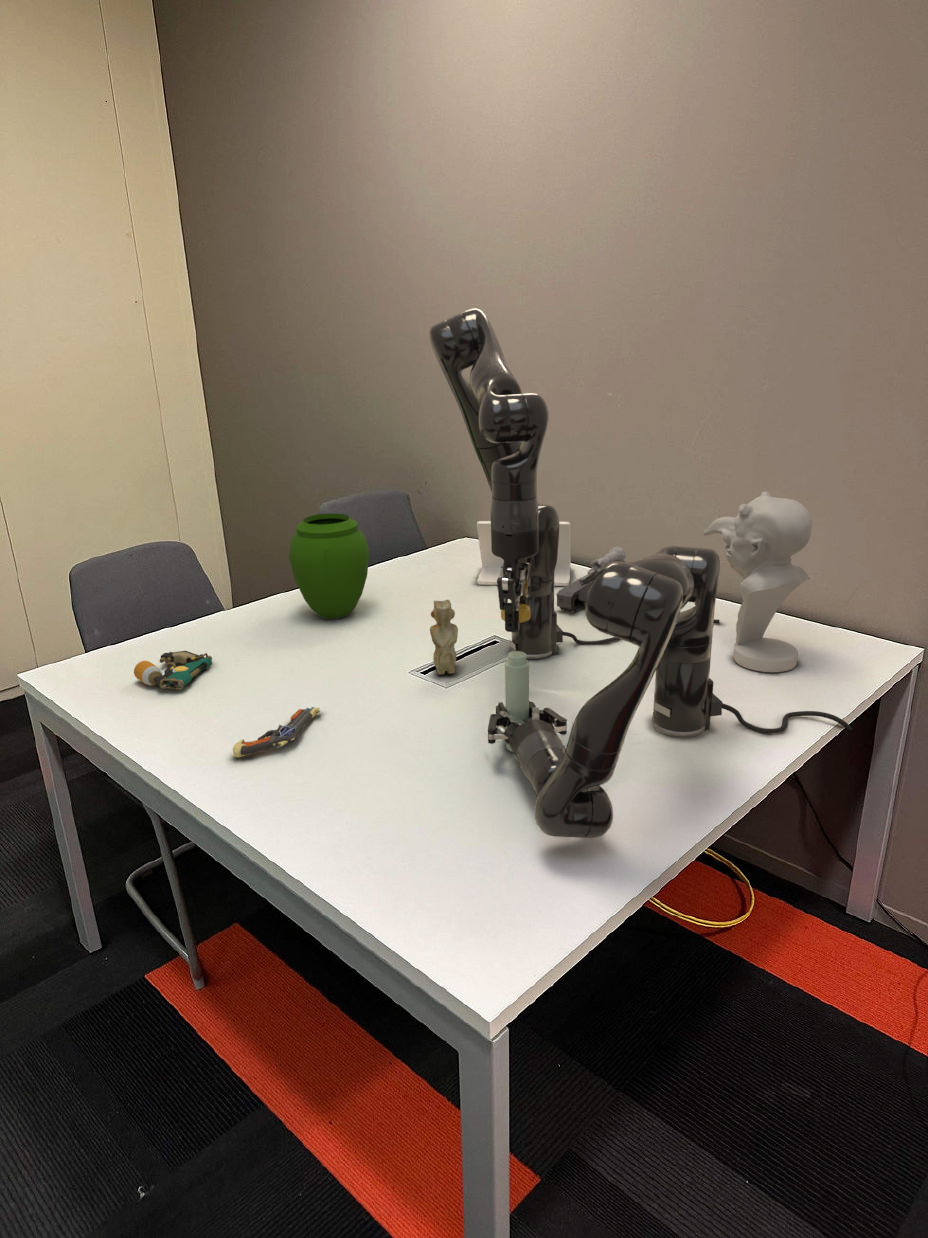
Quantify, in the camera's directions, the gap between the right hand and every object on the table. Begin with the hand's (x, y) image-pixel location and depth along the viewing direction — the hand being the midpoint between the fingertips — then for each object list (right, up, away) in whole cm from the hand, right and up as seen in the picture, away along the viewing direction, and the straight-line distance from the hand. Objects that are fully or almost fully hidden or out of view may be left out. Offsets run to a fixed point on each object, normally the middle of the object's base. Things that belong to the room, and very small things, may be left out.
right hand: (513, 706), depth 149 cm
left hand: (0, +14, -8) cm, 16 cm away
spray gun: (-69, +3, +32) cm, 76 cm away
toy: (+30, +19, +66) cm, 74 cm away
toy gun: (-42, -6, +6) cm, 43 cm away
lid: (0, +17, -9) cm, 19 cm away
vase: (-41, +16, +65) cm, 79 cm away
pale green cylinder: (+1, -7, 0) cm, 7 cm away
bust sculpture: (+52, +7, +33) cm, 62 cm away
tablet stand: (+9, +27, +90) cm, 95 cm away
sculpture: (-12, +4, +31) cm, 34 cm away
